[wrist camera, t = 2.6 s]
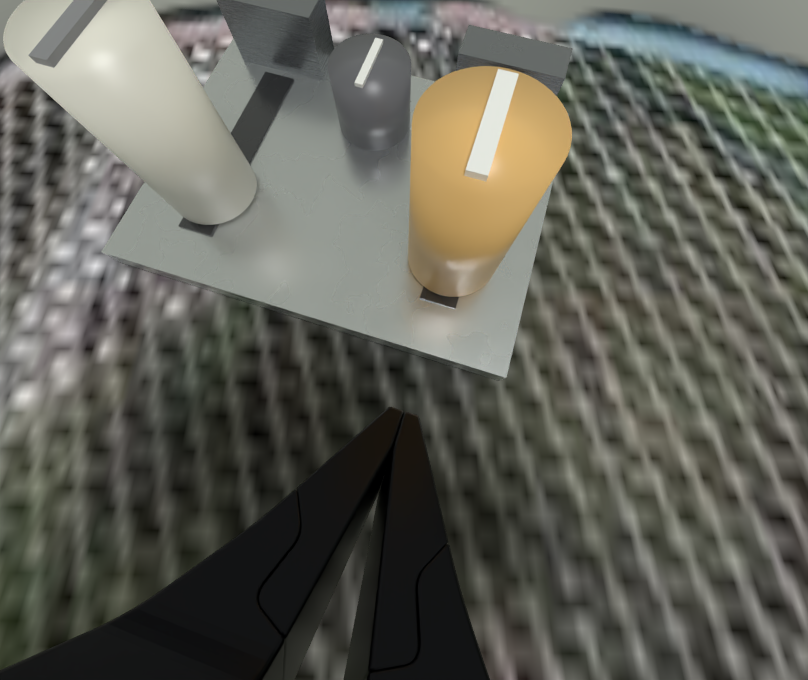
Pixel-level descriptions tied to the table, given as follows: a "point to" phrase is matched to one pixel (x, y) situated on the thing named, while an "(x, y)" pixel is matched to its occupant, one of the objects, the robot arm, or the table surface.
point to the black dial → (371, 90)
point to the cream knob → (135, 99)
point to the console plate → (333, 200)
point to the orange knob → (478, 172)
